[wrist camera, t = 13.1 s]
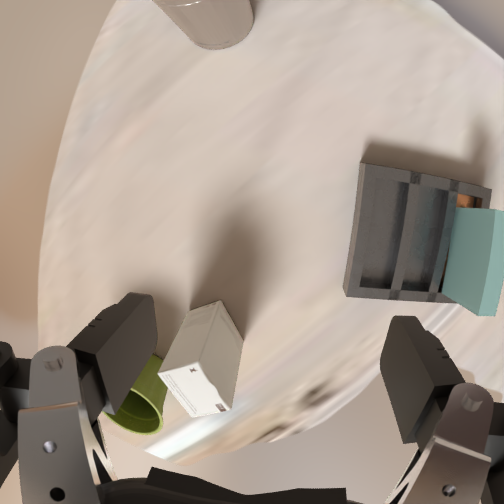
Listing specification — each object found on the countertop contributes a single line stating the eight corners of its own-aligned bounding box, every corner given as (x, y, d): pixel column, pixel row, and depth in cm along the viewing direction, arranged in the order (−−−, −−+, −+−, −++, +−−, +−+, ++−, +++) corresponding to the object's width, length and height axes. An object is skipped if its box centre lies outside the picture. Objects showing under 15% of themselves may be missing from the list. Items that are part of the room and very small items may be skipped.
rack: (359, 162, 37) (365, 163, 34) (481, 186, 35) (492, 189, 32) (342, 287, 42) (346, 296, 39) (458, 295, 40) (467, 303, 37)
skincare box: (188, 310, 46) (151, 370, 32) (223, 297, 44) (196, 359, 30) (213, 353, 48) (188, 420, 34) (247, 343, 46) (231, 412, 32)
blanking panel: (453, 207, 36) (495, 209, 26) (469, 210, 35) (512, 213, 25) (441, 293, 37) (477, 315, 28) (457, 294, 37) (495, 316, 27)
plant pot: (115, 337, 50) (84, 375, 39) (177, 344, 48) (152, 389, 37) (131, 387, 53) (106, 426, 42) (188, 396, 52) (169, 441, 41)
